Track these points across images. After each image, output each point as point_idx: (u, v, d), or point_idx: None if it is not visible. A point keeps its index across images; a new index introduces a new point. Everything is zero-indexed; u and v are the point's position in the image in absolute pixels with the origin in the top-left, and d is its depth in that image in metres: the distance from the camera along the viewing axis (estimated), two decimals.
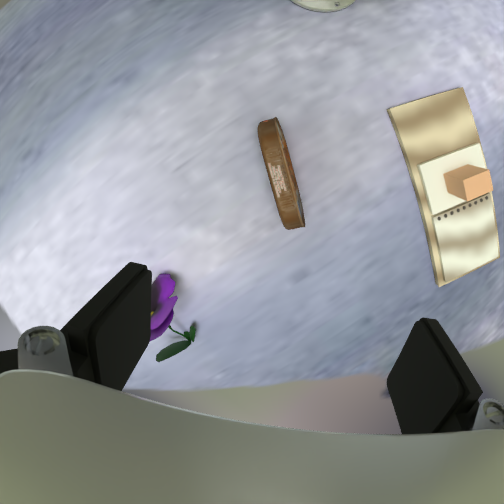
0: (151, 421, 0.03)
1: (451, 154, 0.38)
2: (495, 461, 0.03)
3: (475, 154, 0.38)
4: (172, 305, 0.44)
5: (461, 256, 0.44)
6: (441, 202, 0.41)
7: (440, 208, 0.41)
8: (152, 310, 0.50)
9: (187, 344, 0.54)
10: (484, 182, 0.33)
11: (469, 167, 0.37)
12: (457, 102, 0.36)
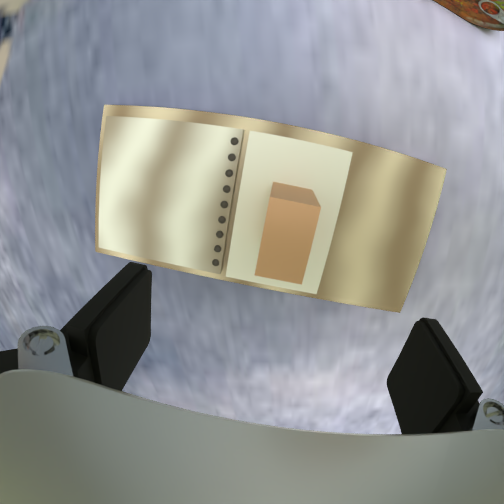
0: (151, 421, 0.03)
1: (333, 226, 0.24)
2: (495, 461, 0.03)
3: (304, 275, 0.26)
4: None
5: (135, 164, 0.24)
6: (262, 159, 0.23)
7: (252, 151, 0.23)
8: None
9: None
10: (283, 261, 0.19)
11: None
12: (389, 289, 0.27)
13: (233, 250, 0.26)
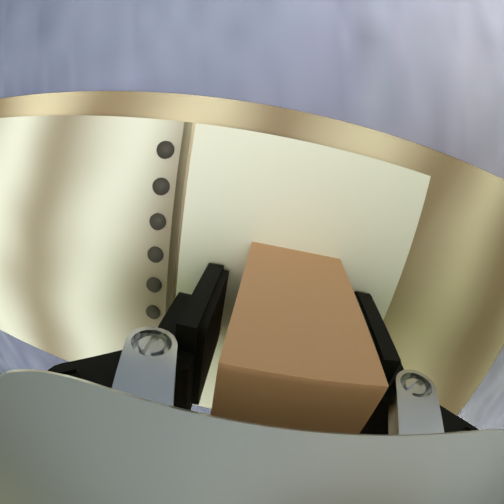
0: (151, 421, 0.03)
1: None
2: (495, 461, 0.03)
3: None
4: None
5: (8, 203, 0.11)
6: (227, 190, 0.10)
7: (204, 173, 0.10)
8: None
9: None
10: None
11: None
12: (445, 399, 0.14)
13: None
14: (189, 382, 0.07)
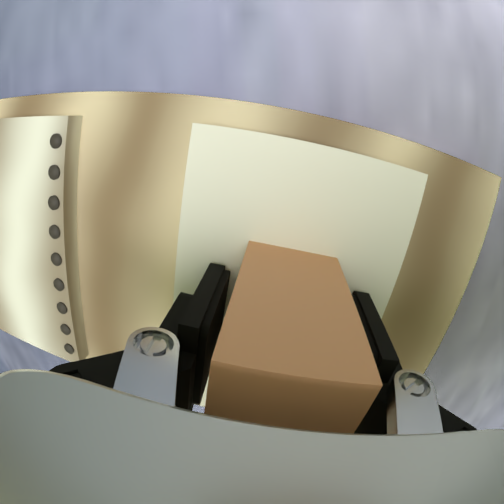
0: (151, 421, 0.03)
1: None
2: (495, 461, 0.03)
3: None
4: None
5: None
6: (224, 189, 0.10)
7: (200, 172, 0.10)
8: None
9: None
10: None
11: None
12: None
13: None
14: (191, 382, 0.07)
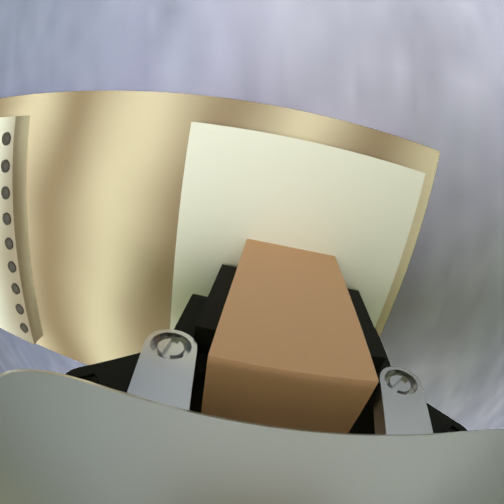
0: (151, 421, 0.03)
1: None
2: (495, 461, 0.03)
3: None
4: None
5: None
6: (222, 187, 0.10)
7: (199, 170, 0.10)
8: None
9: None
10: None
11: None
12: None
13: None
14: None
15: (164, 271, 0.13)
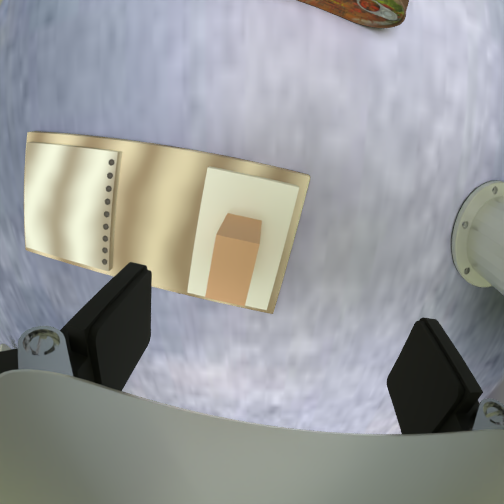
0: (151, 421, 0.03)
1: (280, 252, 0.28)
2: (495, 461, 0.03)
3: (255, 294, 0.30)
4: None
5: (46, 181, 0.27)
6: (218, 193, 0.27)
7: (210, 186, 0.26)
8: None
9: None
10: (228, 287, 0.23)
11: None
12: None
13: (193, 270, 0.29)
14: None
15: (189, 228, 0.29)
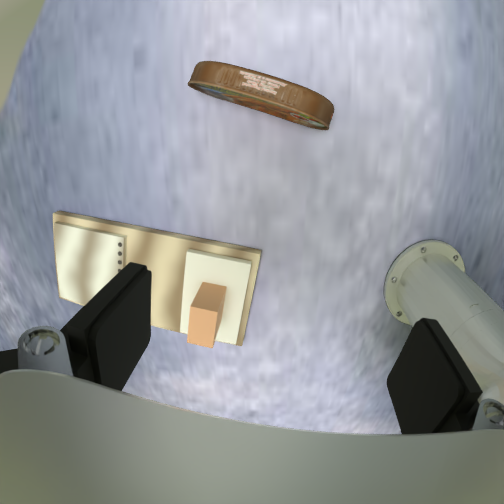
0: (151, 421, 0.03)
1: (241, 307, 0.40)
2: (495, 461, 0.03)
3: (226, 334, 0.41)
4: None
5: (72, 253, 0.40)
6: (195, 268, 0.38)
7: (189, 264, 0.38)
8: None
9: None
10: (201, 337, 0.35)
11: (219, 322, 0.39)
12: None
13: (183, 318, 0.41)
14: None
15: (178, 289, 0.41)
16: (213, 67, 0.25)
